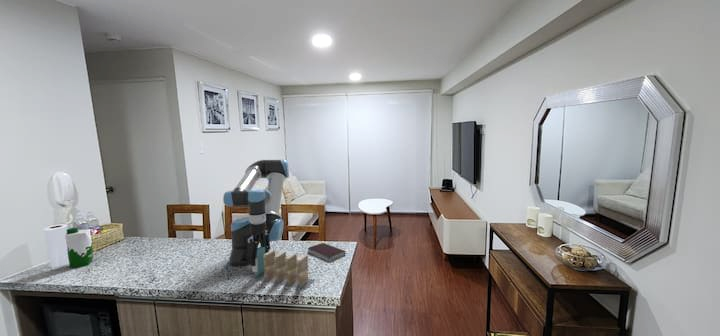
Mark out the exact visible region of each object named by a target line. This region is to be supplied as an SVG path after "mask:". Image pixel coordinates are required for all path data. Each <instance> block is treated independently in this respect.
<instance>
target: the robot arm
mask: <svg viewBox="0 0 720 336" xmlns="http://www.w3.org/2000/svg"><path fill="white" fill-rule="evenodd" d="M289 177H290V169H289V163H288V160H286V159H280V158H279V159H260V160H257V161H255V162H253V163H251V164H250V165H249V166H248V167H247V168H246V169H245V172H244V175H243V176H242V178H241V179H240V180H239V182H238V184H236V185H235V188H234V189H233V190H230V191H226V192H224V194H223V198H222V199H223V201H222V202H223V205H224V206H226V207H248V216H245V217H241V218H237V219H235V220H233V221H232V222H231V224H230V237H231V251H230V255H229V258H228V259H229V260H228V262H229V265H230V266H232V267H245V266H248V265H251V271H252V272H253V273H254V272H258V260H257V258H256V255H257V249H258V248H259V245H260V247H261V246H263V247H265V254H266V253H267V252H269V251H271V243H272V242H278V241H279V240H280V239H281V238H282V235H283V232H284V223H285V222H284V220H283V219H282V216H281V215H280V209H281V201H282V194H283V191H282V190H283V184H284V183H285V182H286V180H287V179H288V178H289ZM260 179H266V181H268V183H267V188H266V189H264V188H263V189H258V188H257V189H253V188H254V186H255V185H256V182H257V181H259V180H260ZM270 242H271V243H270ZM253 256H254V257H253Z"/></svg>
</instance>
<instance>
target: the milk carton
mask: <svg viewBox="0 0 720 336" xmlns="http://www.w3.org/2000/svg"><path fill="white" fill-rule="evenodd" d="M64 237H65V242H66V250H67V259H68V265H69V268H70V269H73V268H79V267H80V268H81V267H84V266H89V265H90V264H91V262H92V261H93V259H94V257H93V255H94V252H93V242H92V236H91V229H90V228H87V229H78V227H71V228H67V229H66V234H65V235H64Z"/></svg>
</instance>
